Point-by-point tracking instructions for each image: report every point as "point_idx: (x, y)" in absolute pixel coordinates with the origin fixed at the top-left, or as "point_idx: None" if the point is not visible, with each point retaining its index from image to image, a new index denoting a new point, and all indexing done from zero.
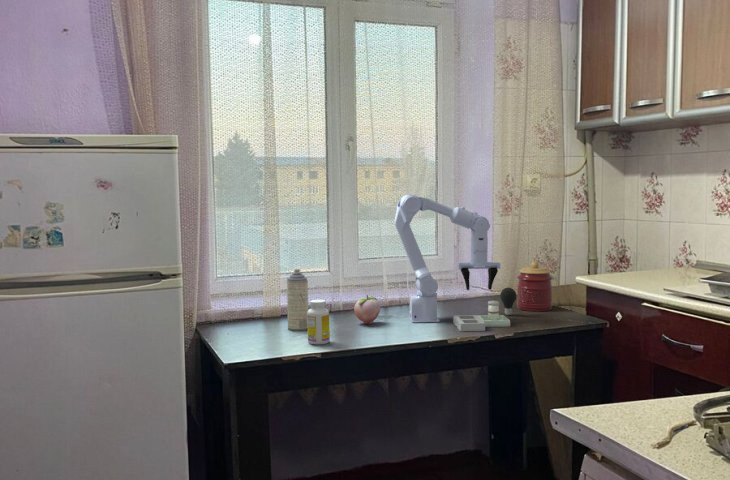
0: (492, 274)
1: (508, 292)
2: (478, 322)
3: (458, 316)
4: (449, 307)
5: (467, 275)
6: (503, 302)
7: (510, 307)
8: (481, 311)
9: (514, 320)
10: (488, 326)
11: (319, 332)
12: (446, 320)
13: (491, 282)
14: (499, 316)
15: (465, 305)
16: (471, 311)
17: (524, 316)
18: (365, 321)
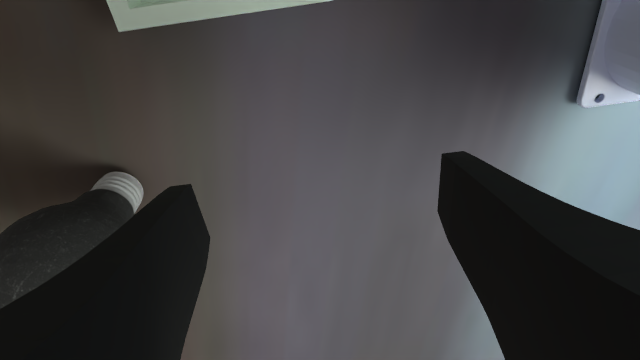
0: (16, 335)
1: (27, 257)
2: None
3: None
4: (424, 318)
5: (629, 256)
6: (121, 219)
7: (84, 194)
8: (281, 259)
9: (55, 34)
10: None
11: None
12: (537, 18)
13: (127, 234)
14: (149, 4)
15: (346, 351)
16: (333, 256)
17: (20, 160)
18: None
